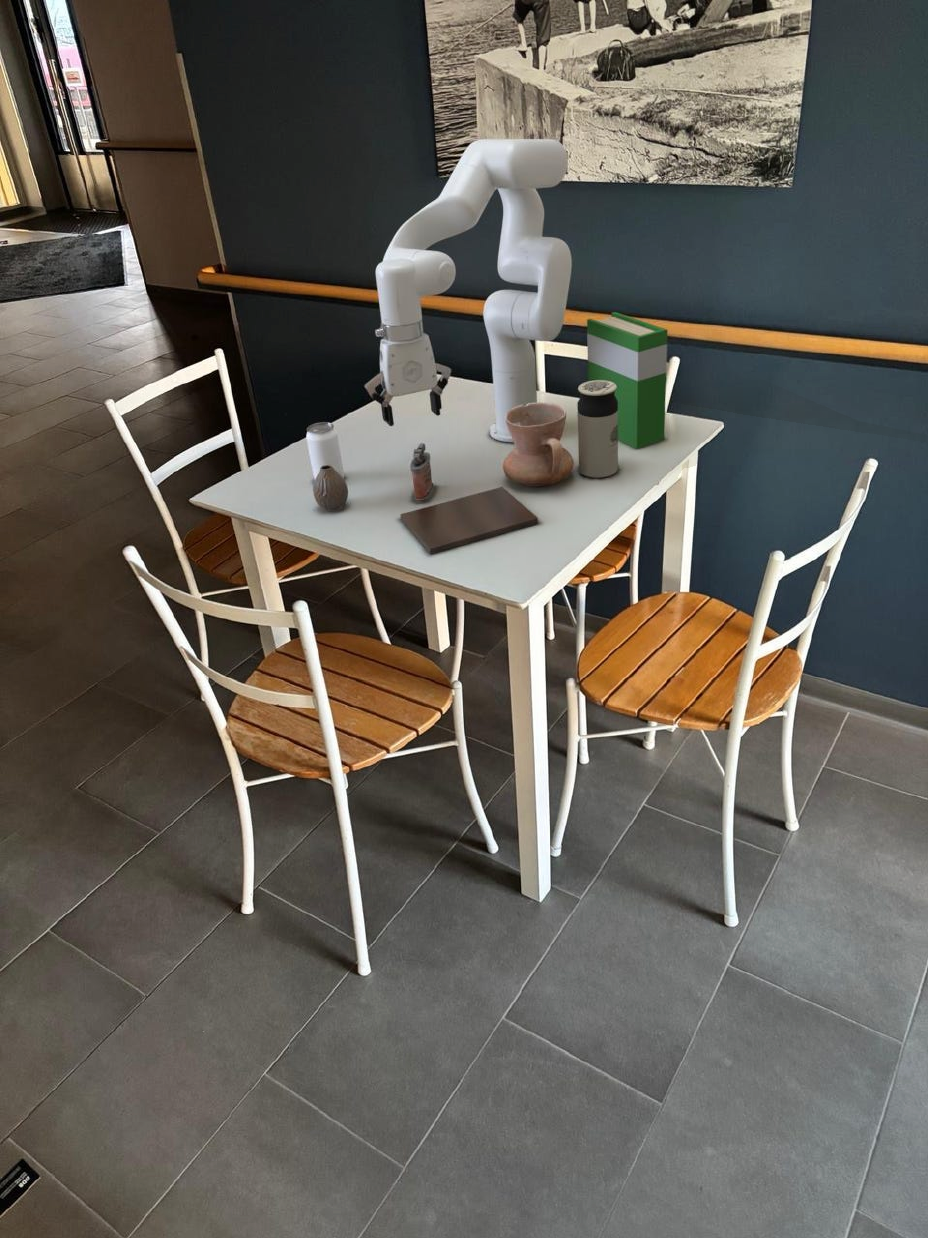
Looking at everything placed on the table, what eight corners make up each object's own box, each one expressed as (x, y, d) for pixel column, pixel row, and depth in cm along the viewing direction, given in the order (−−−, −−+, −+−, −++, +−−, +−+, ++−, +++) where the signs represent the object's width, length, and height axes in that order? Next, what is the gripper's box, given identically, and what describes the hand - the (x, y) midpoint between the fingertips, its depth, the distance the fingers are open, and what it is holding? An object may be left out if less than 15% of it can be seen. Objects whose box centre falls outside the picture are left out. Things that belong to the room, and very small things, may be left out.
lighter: (427, 503, 189) (422, 457, 184) (411, 502, 190) (405, 457, 184) (436, 485, 196) (431, 440, 190) (420, 485, 196) (415, 440, 191)
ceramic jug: (491, 471, 199) (486, 407, 191) (553, 455, 203) (550, 392, 195) (525, 504, 185) (521, 437, 177) (591, 487, 189) (590, 420, 181)
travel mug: (571, 473, 195) (568, 389, 185) (594, 459, 200) (593, 376, 190) (602, 482, 190) (602, 396, 180) (625, 467, 195) (625, 383, 185)
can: (315, 475, 205) (305, 423, 199) (345, 471, 206) (336, 419, 199) (314, 488, 200) (303, 435, 193) (344, 484, 200) (335, 431, 194)
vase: (336, 517, 188) (328, 476, 183) (309, 510, 191) (301, 471, 186) (357, 502, 192) (350, 462, 188) (330, 496, 196) (323, 457, 191)
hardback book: (588, 424, 215) (587, 319, 202) (615, 416, 218) (615, 311, 205) (636, 448, 202) (638, 337, 189) (664, 439, 205) (667, 329, 192)
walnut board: (502, 491, 191) (502, 486, 190) (538, 523, 178) (538, 517, 177) (400, 519, 184) (400, 514, 184) (430, 554, 172) (429, 548, 171)
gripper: (364, 344, 169) (377, 434, 178) (453, 326, 174) (461, 415, 183) (352, 334, 175) (365, 422, 184) (438, 317, 180) (446, 403, 189)
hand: (413, 418), depth 184 cm, fingers open, 9 cm apart
